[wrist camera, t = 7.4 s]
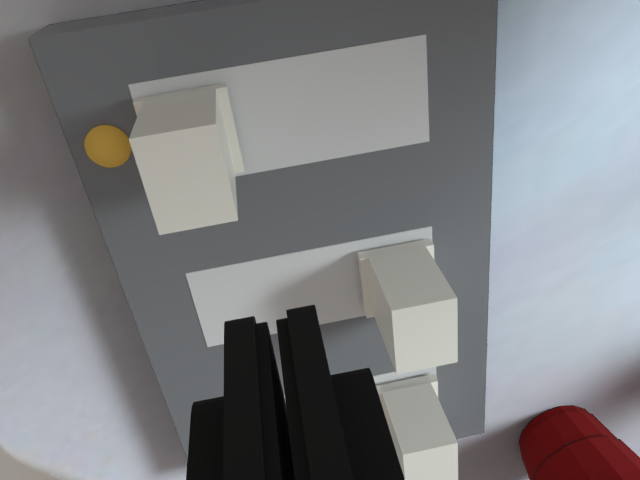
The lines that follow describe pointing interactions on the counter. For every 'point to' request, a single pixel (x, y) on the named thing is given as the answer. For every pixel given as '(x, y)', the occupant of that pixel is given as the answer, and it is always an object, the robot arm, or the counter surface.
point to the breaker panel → (293, 172)
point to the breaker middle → (410, 305)
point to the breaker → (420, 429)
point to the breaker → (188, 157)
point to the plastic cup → (575, 448)
